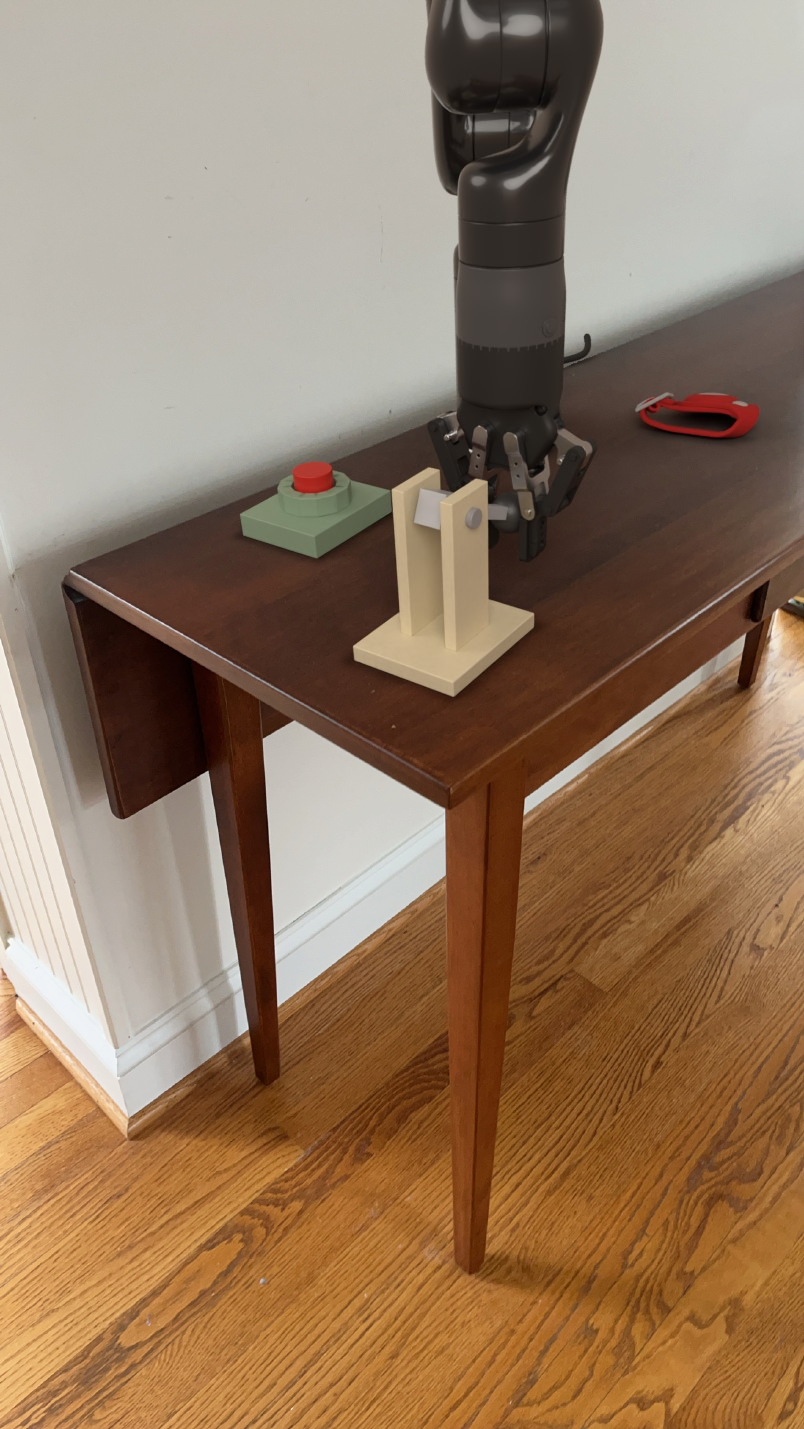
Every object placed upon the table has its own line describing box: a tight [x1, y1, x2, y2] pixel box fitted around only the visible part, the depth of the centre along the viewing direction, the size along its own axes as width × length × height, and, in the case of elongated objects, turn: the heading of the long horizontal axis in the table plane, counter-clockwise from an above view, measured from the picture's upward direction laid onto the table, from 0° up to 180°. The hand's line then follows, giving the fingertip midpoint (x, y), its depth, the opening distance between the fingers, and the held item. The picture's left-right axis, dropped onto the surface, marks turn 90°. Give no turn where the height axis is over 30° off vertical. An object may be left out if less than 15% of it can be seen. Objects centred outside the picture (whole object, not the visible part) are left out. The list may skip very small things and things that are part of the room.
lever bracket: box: [352, 467, 535, 698], centre depth 74 cm, size 11×9×13 cm
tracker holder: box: [634, 391, 760, 439], centre depth 108 cm, size 12×4×10 cm
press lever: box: [414, 488, 522, 535], centre depth 75 cm, size 13×3×3 cm, turn 143°
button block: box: [239, 470, 393, 559], centre depth 94 cm, size 11×9×4 cm
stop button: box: [292, 461, 334, 493], centre depth 93 cm, size 4×4×2 cm
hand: (508, 551), depth 81 cm, fingers closed on press lever, 3 cm apart
